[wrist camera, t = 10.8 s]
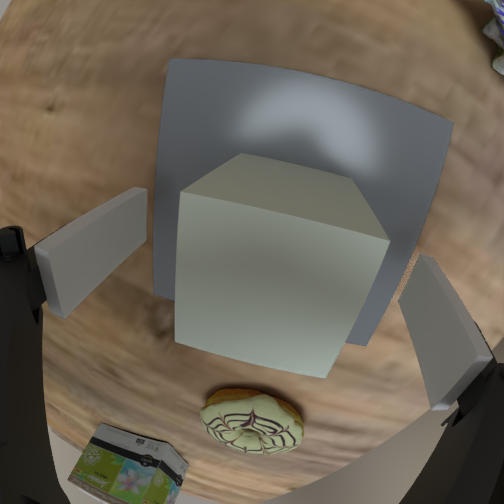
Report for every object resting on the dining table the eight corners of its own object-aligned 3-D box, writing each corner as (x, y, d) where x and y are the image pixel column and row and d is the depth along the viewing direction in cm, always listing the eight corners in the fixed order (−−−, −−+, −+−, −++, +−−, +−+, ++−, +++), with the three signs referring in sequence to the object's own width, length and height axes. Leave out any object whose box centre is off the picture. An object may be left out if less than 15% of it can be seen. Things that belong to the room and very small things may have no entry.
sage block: (226, 250, 18) (174, 341, 11) (241, 152, 15) (180, 191, 8) (322, 273, 17) (325, 378, 10) (351, 178, 14) (390, 241, 7)
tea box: (168, 440, 36) (136, 517, 23) (190, 464, 40) (166, 530, 28) (99, 420, 40) (65, 481, 27) (124, 446, 44) (97, 501, 31)
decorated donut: (267, 370, 24) (260, 404, 21) (322, 422, 27) (320, 451, 24) (188, 393, 28) (176, 420, 25) (247, 438, 31) (241, 462, 28)
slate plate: (160, 285, 22) (153, 294, 21) (178, 61, 14) (169, 58, 13) (364, 335, 20) (366, 346, 19) (444, 121, 13) (453, 123, 12)
